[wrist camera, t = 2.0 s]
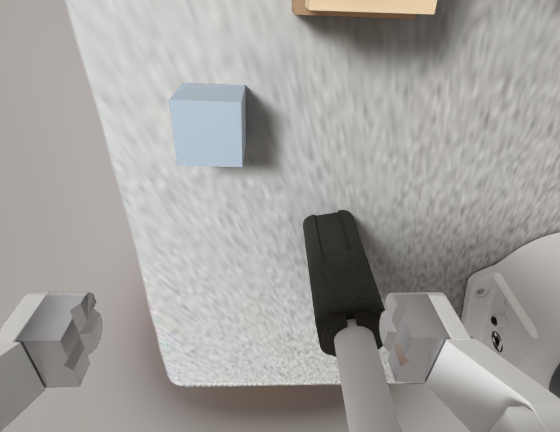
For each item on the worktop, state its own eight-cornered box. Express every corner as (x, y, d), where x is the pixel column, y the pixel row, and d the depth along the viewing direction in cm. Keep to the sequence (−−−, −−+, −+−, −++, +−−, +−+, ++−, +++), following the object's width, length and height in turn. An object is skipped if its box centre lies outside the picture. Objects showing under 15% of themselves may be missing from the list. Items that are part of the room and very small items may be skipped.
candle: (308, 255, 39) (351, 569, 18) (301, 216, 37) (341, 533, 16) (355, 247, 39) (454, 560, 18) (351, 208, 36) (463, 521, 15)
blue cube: (246, 143, 32) (242, 167, 28) (189, 141, 32) (177, 165, 28) (245, 85, 30) (241, 102, 26) (183, 82, 30) (169, 99, 25)
